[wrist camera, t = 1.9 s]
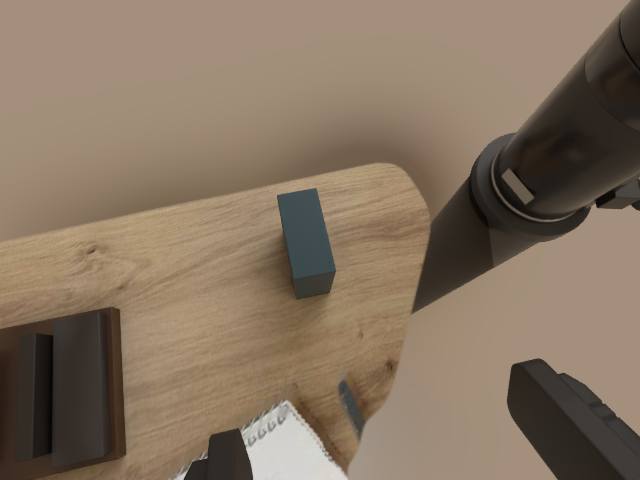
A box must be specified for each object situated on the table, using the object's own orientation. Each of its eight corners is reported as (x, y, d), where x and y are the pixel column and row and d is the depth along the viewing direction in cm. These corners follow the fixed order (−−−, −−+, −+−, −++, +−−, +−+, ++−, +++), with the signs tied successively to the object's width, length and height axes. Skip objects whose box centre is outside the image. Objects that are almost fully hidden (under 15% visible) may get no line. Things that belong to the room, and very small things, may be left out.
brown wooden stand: (120, 309, 34) (96, 301, 31) (126, 454, 31) (101, 466, 27) (-70, 347, 33) (-119, 344, 29) (-88, 506, 29) (-147, 525, 25)
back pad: (314, 224, 38) (316, 187, 30) (330, 292, 36) (336, 271, 28) (282, 230, 38) (276, 194, 30) (296, 299, 35) (293, 279, 28)
